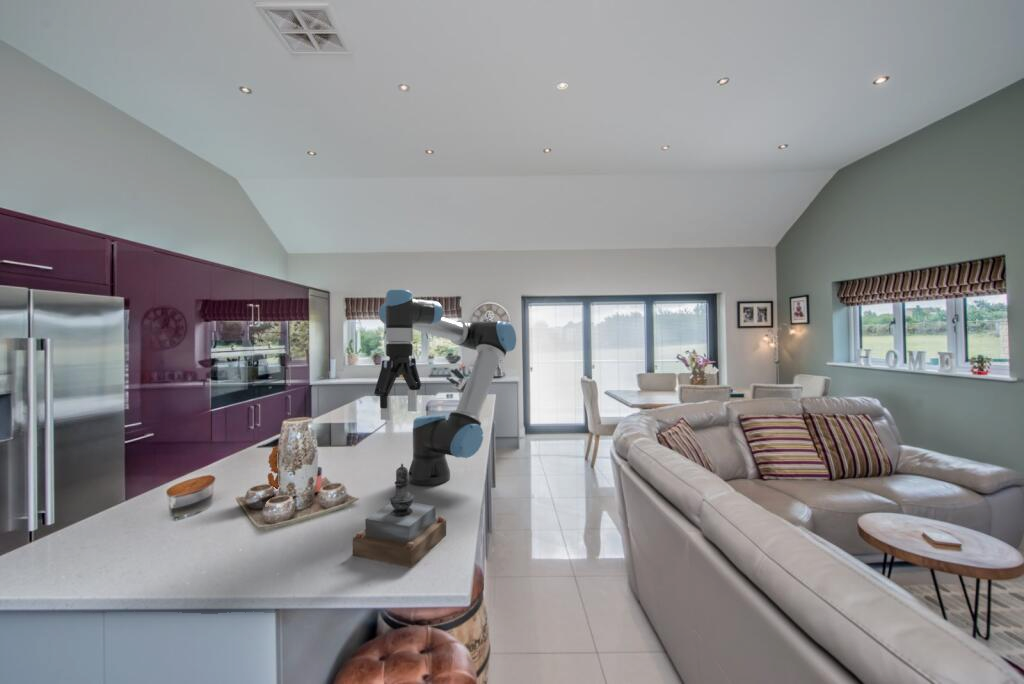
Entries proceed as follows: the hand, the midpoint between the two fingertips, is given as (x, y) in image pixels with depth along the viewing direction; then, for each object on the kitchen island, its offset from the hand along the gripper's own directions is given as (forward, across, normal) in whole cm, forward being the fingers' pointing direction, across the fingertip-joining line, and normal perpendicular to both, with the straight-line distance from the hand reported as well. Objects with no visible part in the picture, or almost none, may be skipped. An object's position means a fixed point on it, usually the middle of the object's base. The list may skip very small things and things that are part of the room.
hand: (399, 415), depth 117 cm
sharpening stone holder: (+28, +16, +11) cm, 35 cm away
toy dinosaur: (+28, +2, -42) cm, 50 cm away
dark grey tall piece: (+20, +16, +11) cm, 29 cm away
